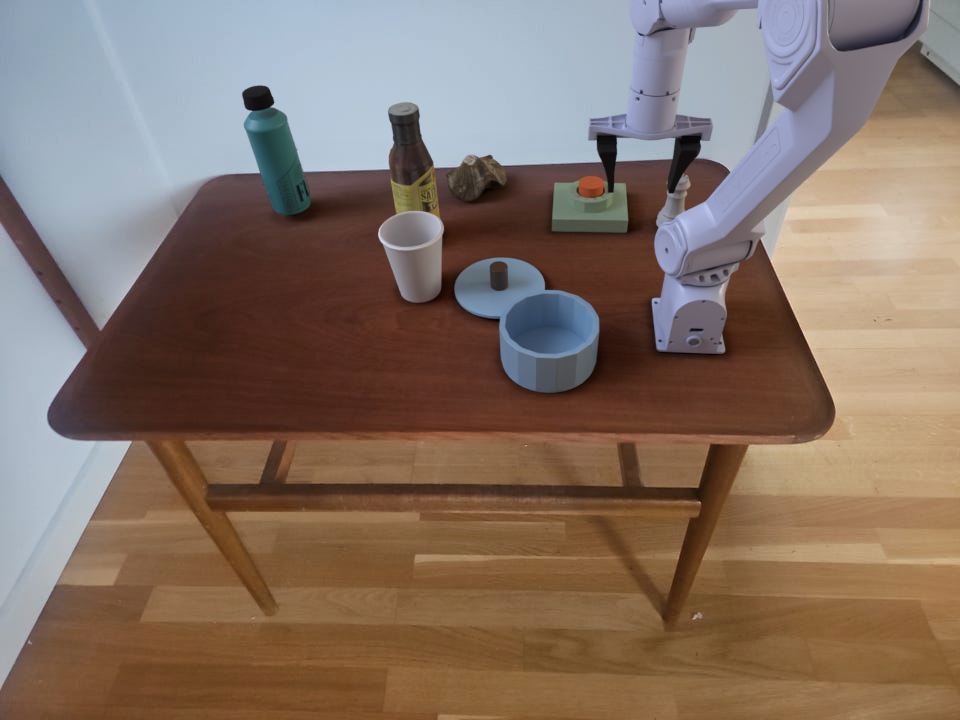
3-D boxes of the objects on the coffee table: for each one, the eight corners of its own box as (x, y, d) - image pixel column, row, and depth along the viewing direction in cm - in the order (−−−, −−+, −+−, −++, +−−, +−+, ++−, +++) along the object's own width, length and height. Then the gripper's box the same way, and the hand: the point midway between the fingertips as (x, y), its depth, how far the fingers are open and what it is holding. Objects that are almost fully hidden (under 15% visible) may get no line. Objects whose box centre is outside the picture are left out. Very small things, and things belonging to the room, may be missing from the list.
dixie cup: (379, 300, 88) (365, 240, 81) (408, 264, 93) (398, 205, 86) (433, 315, 85) (424, 254, 78) (460, 277, 90) (454, 217, 83)
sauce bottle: (436, 251, 95) (419, 122, 80) (395, 248, 96) (371, 120, 81) (446, 225, 99) (432, 99, 85) (407, 223, 100) (386, 97, 86)
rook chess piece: (678, 238, 94) (687, 189, 88) (650, 228, 96) (657, 180, 90) (691, 222, 96) (701, 174, 90) (663, 213, 98) (672, 166, 92)
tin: (596, 395, 74) (599, 360, 70) (497, 390, 76) (495, 355, 71) (595, 326, 82) (598, 291, 78) (505, 323, 83) (504, 288, 79)
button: (602, 199, 95) (603, 189, 94) (578, 199, 96) (578, 188, 94) (602, 186, 98) (603, 175, 96) (578, 185, 98) (579, 175, 97)
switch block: (626, 232, 95) (629, 209, 92) (551, 231, 96) (552, 208, 94) (624, 195, 102) (626, 172, 99) (554, 194, 103) (554, 172, 100)
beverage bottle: (310, 223, 102) (273, 99, 87) (269, 224, 102) (225, 101, 88) (318, 200, 106) (284, 78, 92) (279, 201, 106) (238, 80, 92)
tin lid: (542, 323, 83) (543, 298, 80) (449, 320, 84) (445, 295, 81) (546, 264, 91) (547, 239, 88) (461, 262, 93) (458, 237, 89)
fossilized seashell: (496, 156, 108) (441, 178, 107) (497, 135, 101) (437, 158, 101) (514, 194, 106) (458, 217, 106) (516, 176, 100) (456, 199, 99)
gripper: (715, 70, 76) (694, 173, 86) (591, 71, 78) (584, 172, 88) (724, 97, 71) (700, 202, 81) (591, 98, 73) (584, 201, 83)
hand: (640, 189), depth 84 cm, fingers open, 7 cm apart
